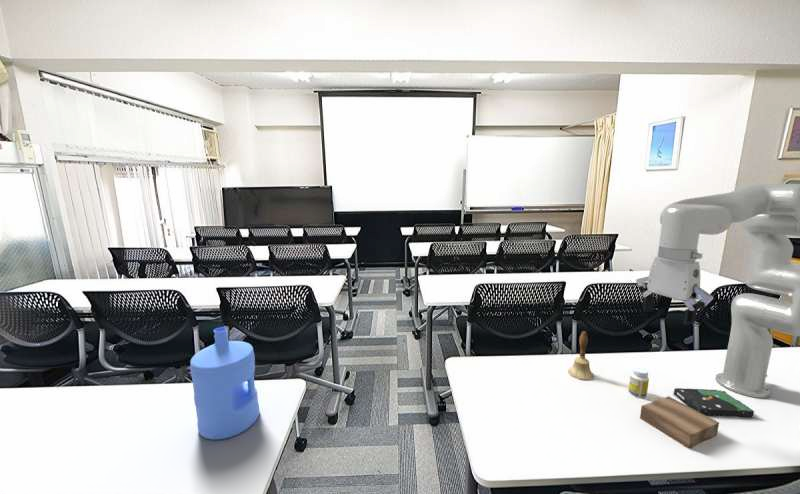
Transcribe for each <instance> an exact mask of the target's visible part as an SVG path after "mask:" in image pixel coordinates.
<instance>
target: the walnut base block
mask: <svg viewBox="0 0 800 494" xmlns="http://www.w3.org/2000/svg"><path fill="white" fill-rule="evenodd" d="M639 419H640V420H641V421H643V422H645V423H646V424H648V425H649V426H652V427H653V428H654V429H656V430H658V431H659V432H661V433H663V434H665V435H666V436H667V437H669V438H671V439H672V440H674V441H676V442H677V443H679V444H680V445H681V446H684V447H685V448H687V449H688V450H689V449H691V448H693V447H695V446H698V445H699V444H702V443H704V442H708V441H709V440H711V439H713V438H716V437H717V436H718V430H719V427H720V426H719V425H720V421H719V422H718V421H717V420H715V419H713V418H712V417H710V416H706V415H704V414H702V413H700V412H698V411H696V410H694V409H692V408H690V407H688V406H687V405H686V404H685V403H683V402H682V401H679V400H677V399H675V398H673V397H671V396H670V395H667V396H666V397H663V398H659V399H657V400H654V401H651V402H648V403H646V404H643V405H641V408H640V416H639Z"/></svg>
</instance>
